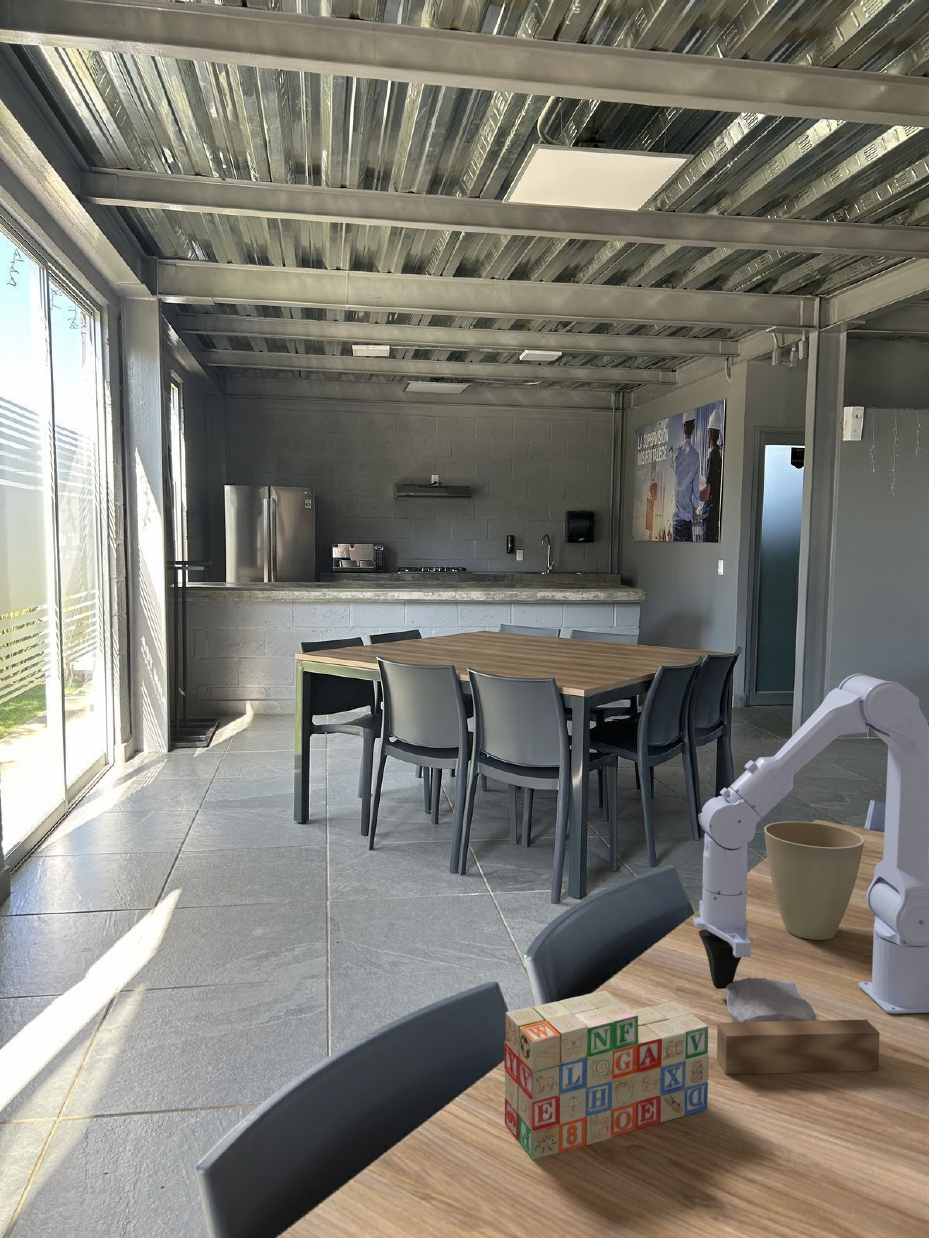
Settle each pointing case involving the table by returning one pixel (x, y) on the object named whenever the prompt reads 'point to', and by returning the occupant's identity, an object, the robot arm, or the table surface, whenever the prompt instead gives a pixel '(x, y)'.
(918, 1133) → the table surface
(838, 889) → the plant pot
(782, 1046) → the board
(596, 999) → the stack of blocks
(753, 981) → the stone block
